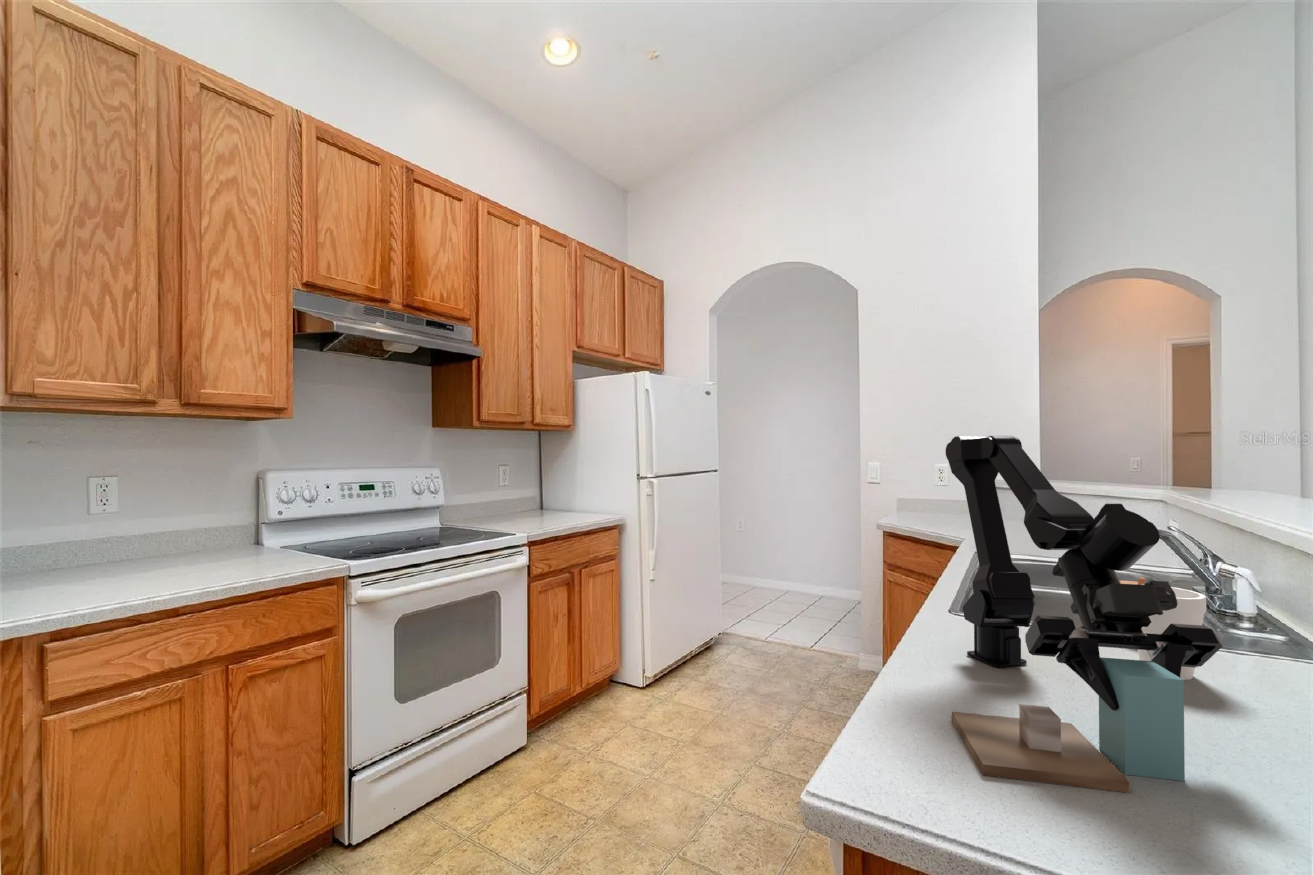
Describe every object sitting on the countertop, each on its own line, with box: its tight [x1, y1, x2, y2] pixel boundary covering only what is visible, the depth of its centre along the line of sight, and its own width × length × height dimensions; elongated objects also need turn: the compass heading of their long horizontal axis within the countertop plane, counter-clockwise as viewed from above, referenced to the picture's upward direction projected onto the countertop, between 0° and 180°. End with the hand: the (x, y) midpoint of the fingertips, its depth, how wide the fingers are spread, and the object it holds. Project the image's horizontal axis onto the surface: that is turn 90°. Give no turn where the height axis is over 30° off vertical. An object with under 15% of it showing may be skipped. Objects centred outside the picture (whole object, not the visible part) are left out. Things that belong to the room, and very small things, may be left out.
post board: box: [951, 703, 1130, 794], centre depth 69 cm, size 13×14×5 cm
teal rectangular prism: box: [1098, 656, 1186, 782], centre depth 66 cm, size 6×6×11 cm
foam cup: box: [1137, 584, 1207, 681], centre depth 93 cm, size 10×9×13 cm
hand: (1146, 711), depth 65 cm, fingers closed on teal rectangular prism, 6 cm apart
